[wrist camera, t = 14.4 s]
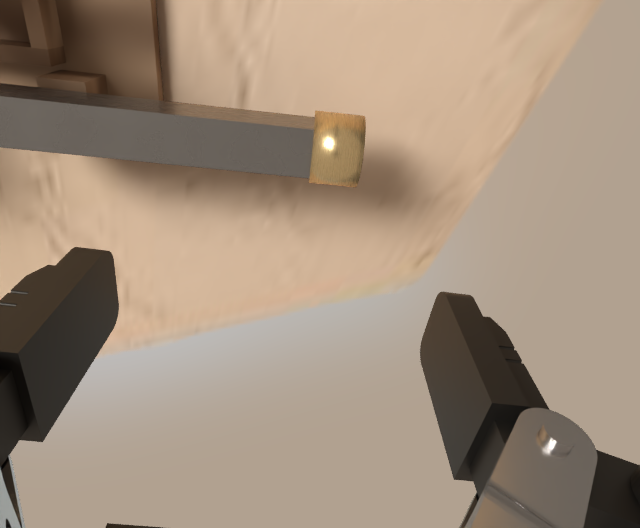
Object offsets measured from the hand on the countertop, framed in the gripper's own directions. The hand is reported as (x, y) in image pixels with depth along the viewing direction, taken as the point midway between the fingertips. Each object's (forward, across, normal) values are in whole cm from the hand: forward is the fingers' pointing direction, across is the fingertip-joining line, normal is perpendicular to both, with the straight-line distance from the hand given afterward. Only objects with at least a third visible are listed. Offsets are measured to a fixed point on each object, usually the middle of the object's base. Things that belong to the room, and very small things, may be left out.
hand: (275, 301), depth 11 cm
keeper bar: (+21, +8, +2) cm, 22 cm away
